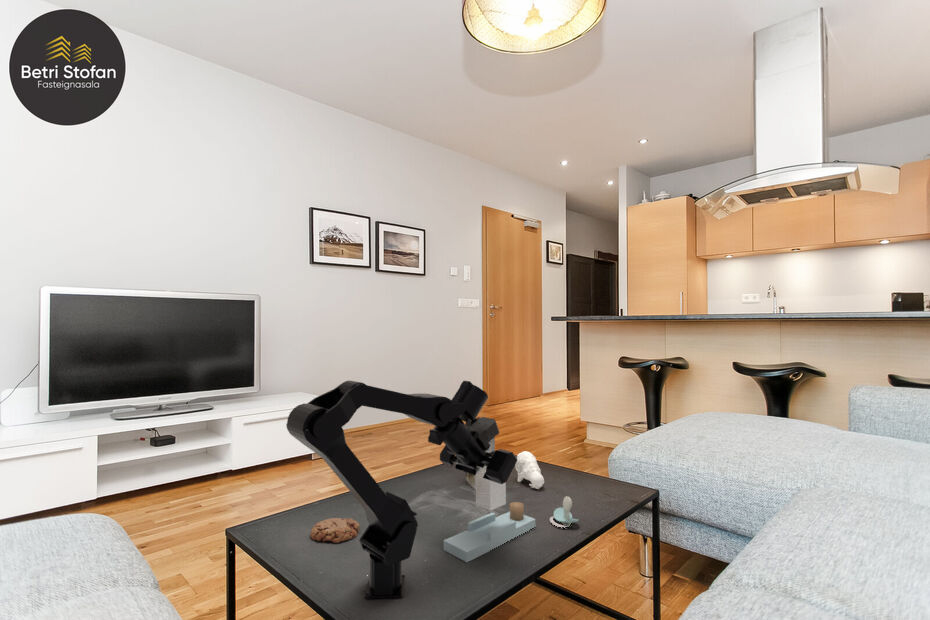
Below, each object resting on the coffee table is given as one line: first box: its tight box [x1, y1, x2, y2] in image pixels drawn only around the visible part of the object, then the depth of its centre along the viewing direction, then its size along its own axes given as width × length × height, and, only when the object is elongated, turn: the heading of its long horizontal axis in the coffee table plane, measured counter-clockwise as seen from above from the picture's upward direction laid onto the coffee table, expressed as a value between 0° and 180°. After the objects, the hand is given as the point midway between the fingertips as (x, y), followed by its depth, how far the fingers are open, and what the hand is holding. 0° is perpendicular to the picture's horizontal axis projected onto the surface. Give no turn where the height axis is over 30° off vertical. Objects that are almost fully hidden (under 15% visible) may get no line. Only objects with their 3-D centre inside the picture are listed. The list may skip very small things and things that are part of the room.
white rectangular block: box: [475, 457, 507, 511], centre depth 103 cm, size 6×4×10 cm
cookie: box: [310, 517, 360, 544], centre depth 105 cm, size 10×11×3 cm
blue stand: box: [443, 501, 536, 563], centre depth 102 cm, size 22×7×5 cm, turn 134°
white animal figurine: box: [514, 450, 545, 490], centre depth 136 cm, size 6×8×12 cm
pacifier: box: [549, 495, 580, 529], centre depth 110 cm, size 7×6×6 cm
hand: (495, 479), depth 104 cm, fingers closed on white rectangular block, 4 cm apart
